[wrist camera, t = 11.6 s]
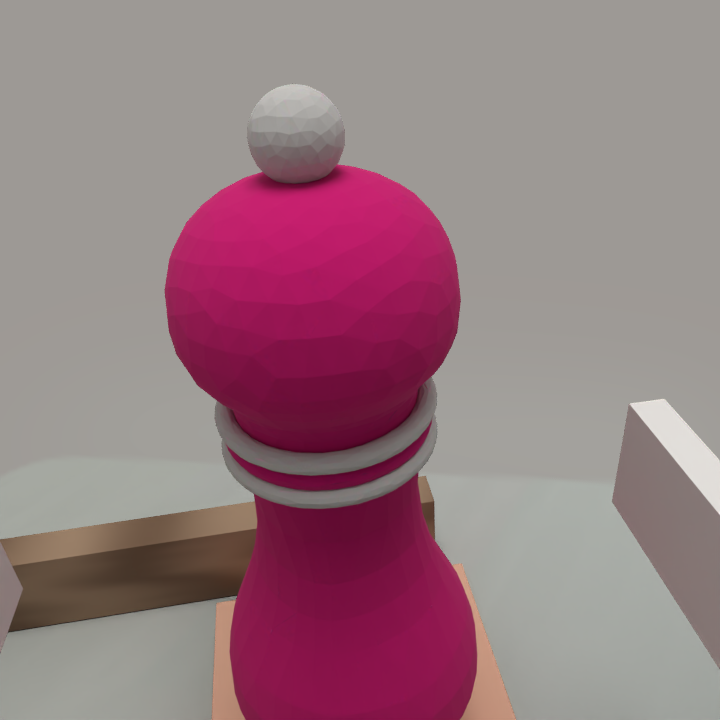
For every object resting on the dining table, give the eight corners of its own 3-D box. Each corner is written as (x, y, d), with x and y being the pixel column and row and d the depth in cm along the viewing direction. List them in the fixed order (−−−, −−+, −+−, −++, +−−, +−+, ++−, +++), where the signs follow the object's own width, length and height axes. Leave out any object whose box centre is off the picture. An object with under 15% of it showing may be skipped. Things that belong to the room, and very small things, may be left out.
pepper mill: (215, 710, 23) (26, 96, 13) (382, 599, 27) (341, 43, 16) (335, 914, 18) (183, 173, 8) (522, 745, 22) (593, 72, 11)
